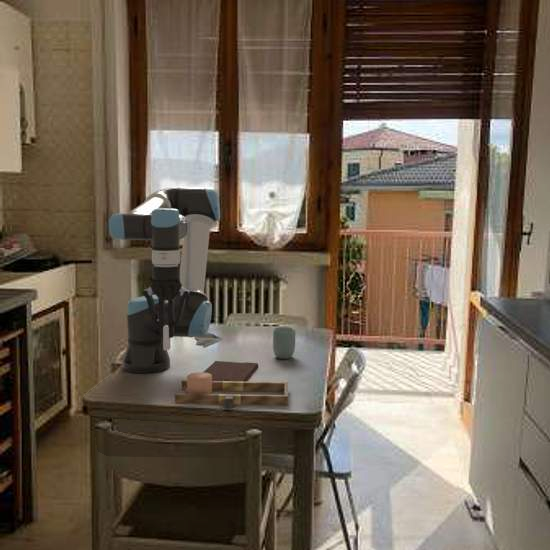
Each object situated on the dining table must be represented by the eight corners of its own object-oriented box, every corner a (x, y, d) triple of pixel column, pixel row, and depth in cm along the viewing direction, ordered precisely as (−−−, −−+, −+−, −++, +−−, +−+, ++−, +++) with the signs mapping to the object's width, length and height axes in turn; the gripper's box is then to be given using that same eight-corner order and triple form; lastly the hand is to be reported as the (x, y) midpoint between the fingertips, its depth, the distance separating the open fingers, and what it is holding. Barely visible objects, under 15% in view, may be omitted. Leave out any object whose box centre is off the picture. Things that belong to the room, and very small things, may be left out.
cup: (292, 361, 206) (293, 332, 205) (270, 359, 208) (270, 331, 206) (296, 355, 214) (297, 327, 212) (275, 353, 215) (275, 326, 214)
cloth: (218, 350, 221) (218, 344, 221) (181, 349, 222) (181, 343, 222) (228, 333, 247) (228, 327, 247) (195, 332, 248) (195, 326, 248)
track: (173, 406, 163) (173, 397, 163) (181, 388, 177) (181, 380, 177) (288, 408, 163) (288, 399, 162) (287, 390, 177) (287, 382, 177)
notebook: (194, 384, 183) (194, 377, 183) (214, 365, 202) (214, 359, 202) (242, 388, 180) (242, 381, 180) (258, 368, 199) (258, 362, 199)
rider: (185, 400, 168) (185, 379, 167) (189, 392, 175) (189, 372, 174) (210, 401, 168) (210, 380, 167) (213, 392, 175) (213, 372, 174)
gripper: (139, 266, 162) (140, 352, 165) (187, 267, 162) (188, 352, 165) (145, 263, 170) (146, 345, 173) (191, 263, 169) (192, 345, 173)
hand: (167, 348), depth 169 cm, fingers closed
